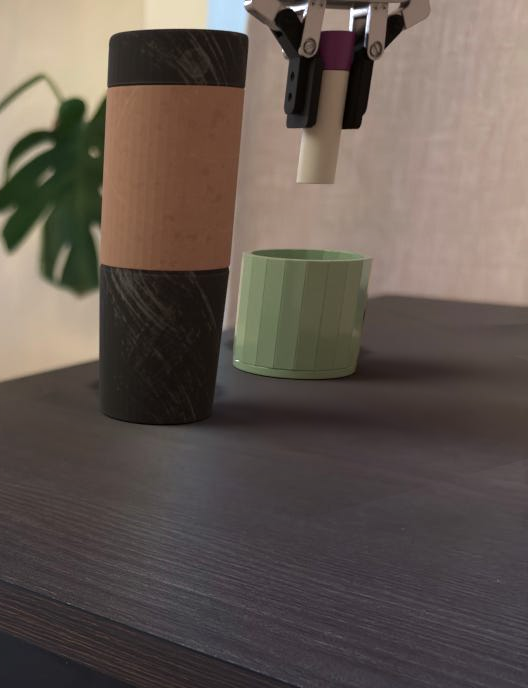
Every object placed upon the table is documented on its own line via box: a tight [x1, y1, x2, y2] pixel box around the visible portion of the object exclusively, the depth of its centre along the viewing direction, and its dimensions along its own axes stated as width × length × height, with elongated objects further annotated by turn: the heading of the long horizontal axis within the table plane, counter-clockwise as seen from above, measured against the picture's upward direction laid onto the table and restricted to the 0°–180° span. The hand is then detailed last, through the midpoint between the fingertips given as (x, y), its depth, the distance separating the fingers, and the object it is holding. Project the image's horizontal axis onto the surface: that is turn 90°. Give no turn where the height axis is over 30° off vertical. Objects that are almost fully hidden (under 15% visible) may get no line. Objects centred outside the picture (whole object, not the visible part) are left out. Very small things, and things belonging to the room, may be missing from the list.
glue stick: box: [295, 29, 356, 185], centre depth 65 cm, size 3×3×9 cm
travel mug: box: [98, 28, 250, 425], centre depth 55 cm, size 8×8×20 cm
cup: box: [232, 247, 375, 380], centre depth 70 cm, size 9×9×8 cm
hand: (322, 125), depth 65 cm, fingers closed on glue stick, 2 cm apart
